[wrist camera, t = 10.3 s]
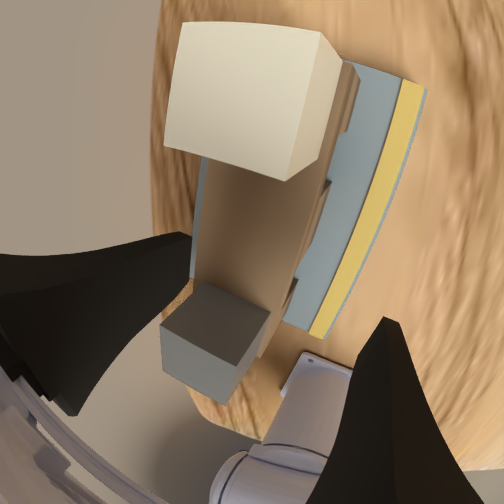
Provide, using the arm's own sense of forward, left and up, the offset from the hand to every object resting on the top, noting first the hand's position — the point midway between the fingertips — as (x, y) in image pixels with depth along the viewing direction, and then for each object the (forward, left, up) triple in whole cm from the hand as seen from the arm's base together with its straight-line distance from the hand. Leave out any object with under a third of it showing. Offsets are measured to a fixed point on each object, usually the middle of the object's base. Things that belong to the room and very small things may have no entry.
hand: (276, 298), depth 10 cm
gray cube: (+3, +6, -3) cm, 7 cm away
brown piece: (+3, 0, -8) cm, 9 cm away
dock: (+3, 0, -10) cm, 11 cm away
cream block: (+3, -6, -3) cm, 7 cm away
